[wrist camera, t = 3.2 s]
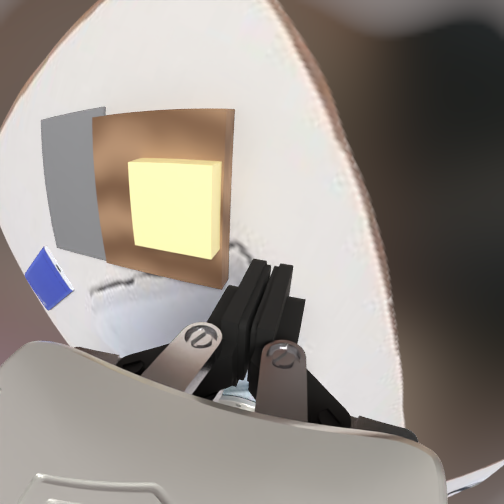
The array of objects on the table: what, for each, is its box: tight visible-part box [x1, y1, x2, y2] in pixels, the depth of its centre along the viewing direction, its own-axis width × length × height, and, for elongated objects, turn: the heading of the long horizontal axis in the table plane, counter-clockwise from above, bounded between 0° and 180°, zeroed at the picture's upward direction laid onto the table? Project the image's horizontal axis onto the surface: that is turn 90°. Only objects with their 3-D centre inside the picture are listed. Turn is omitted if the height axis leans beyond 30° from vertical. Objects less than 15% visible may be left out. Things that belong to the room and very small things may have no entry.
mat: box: [41, 107, 106, 261], centre depth 29 cm, size 18×12×1 cm, turn 178°
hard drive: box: [25, 245, 75, 310], centre depth 38 cm, size 2×8×12 cm
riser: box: [92, 109, 235, 289], centre depth 25 cm, size 16×14×2 cm
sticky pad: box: [128, 158, 222, 259], centre depth 23 cm, size 8×8×2 cm
